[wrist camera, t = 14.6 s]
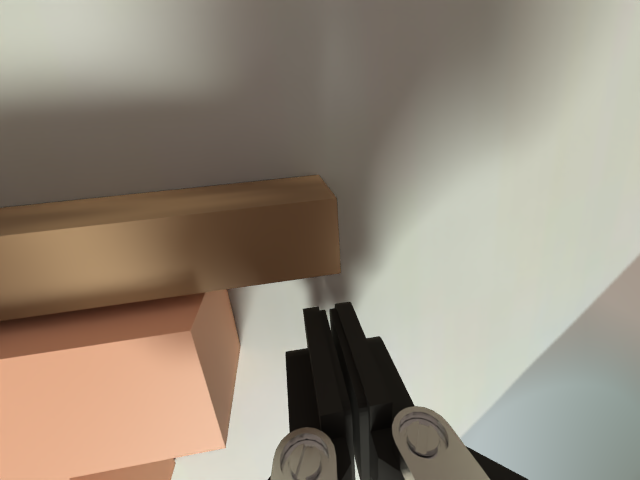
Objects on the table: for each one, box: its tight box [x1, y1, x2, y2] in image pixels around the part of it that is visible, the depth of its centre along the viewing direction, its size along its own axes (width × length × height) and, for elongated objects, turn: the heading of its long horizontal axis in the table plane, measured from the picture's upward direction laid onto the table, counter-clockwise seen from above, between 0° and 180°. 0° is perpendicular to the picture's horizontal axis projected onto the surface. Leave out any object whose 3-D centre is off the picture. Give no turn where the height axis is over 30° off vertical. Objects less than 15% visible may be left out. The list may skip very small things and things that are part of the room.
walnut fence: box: [0, 175, 341, 321], centre depth 10 cm, size 18×12×3 cm, turn 94°
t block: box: [0, 289, 240, 480], centre depth 10 cm, size 12×10×4 cm
